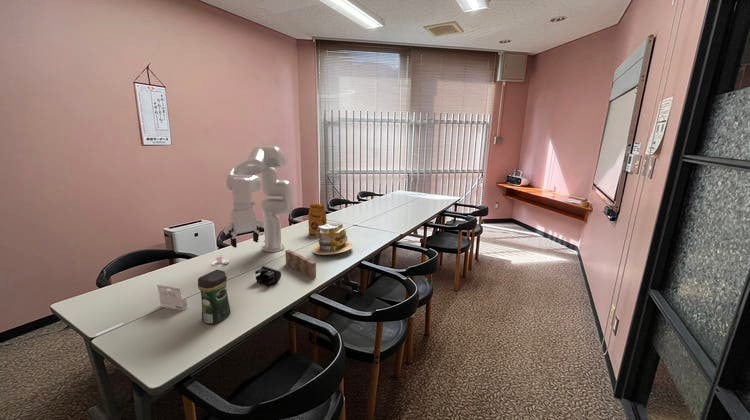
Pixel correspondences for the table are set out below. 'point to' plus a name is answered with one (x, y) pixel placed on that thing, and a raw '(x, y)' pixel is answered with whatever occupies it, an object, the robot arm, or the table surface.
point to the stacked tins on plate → (331, 239)
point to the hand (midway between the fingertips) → (245, 244)
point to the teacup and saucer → (220, 260)
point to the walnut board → (301, 264)
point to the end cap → (268, 276)
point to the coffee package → (316, 217)
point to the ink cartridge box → (172, 298)
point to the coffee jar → (214, 296)
